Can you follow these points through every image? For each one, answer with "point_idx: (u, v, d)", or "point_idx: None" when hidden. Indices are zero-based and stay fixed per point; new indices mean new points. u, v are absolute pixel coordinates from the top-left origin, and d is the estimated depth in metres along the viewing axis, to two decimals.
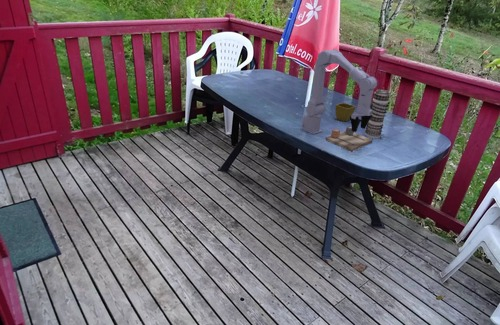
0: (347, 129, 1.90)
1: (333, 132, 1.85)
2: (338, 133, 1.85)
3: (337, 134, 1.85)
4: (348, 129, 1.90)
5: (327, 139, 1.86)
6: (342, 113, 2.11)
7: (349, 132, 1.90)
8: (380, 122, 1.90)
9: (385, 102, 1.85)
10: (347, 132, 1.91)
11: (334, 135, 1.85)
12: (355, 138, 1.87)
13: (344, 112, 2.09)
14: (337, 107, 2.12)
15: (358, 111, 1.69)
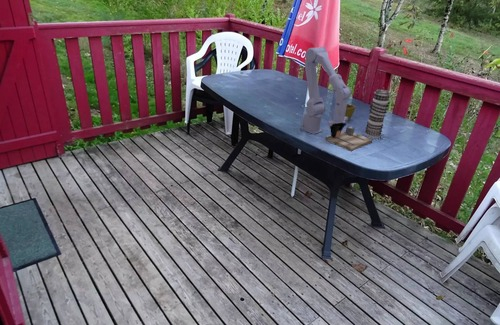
0: (347, 129, 1.90)
1: None
2: (338, 133, 1.85)
3: (337, 134, 1.85)
4: (348, 129, 1.90)
5: (327, 139, 1.86)
6: None
7: (349, 132, 1.90)
8: (380, 122, 1.90)
9: (385, 102, 1.85)
10: (347, 132, 1.91)
11: None
12: (355, 138, 1.87)
13: None
14: None
15: (334, 119, 1.81)
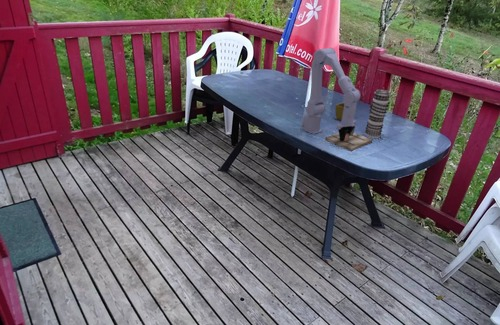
0: None
1: None
2: (347, 136, 1.82)
3: (346, 137, 1.81)
4: None
5: (327, 139, 1.86)
6: (342, 113, 2.11)
7: None
8: (380, 122, 1.90)
9: (385, 102, 1.85)
10: None
11: None
12: (355, 138, 1.87)
13: None
14: (337, 107, 2.12)
15: (343, 122, 1.77)
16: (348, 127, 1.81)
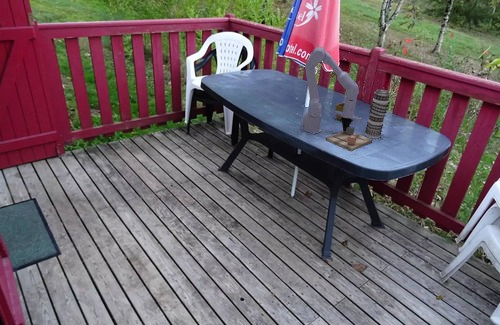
0: (347, 129, 1.90)
1: (349, 138, 1.79)
2: (354, 140, 1.79)
3: (353, 141, 1.78)
4: (348, 129, 1.90)
5: (327, 139, 1.86)
6: None
7: (349, 132, 1.90)
8: (380, 122, 1.90)
9: (385, 102, 1.85)
10: (347, 132, 1.91)
11: (350, 142, 1.79)
12: None
13: None
14: (337, 107, 2.12)
15: None
16: None
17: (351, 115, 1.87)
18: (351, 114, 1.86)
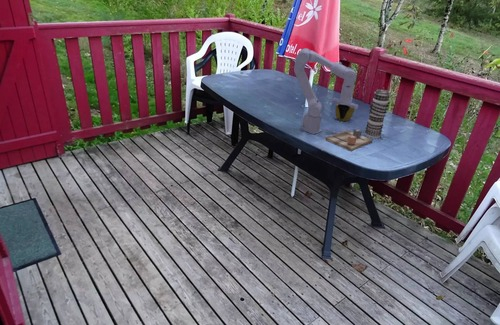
0: (354, 132, 1.87)
1: (349, 138, 1.79)
2: (354, 140, 1.79)
3: (353, 141, 1.78)
4: (355, 132, 1.87)
5: (327, 139, 1.86)
6: None
7: (356, 135, 1.87)
8: (380, 122, 1.90)
9: (385, 102, 1.85)
10: (354, 135, 1.88)
11: (350, 142, 1.79)
12: None
13: None
14: (337, 107, 2.12)
15: None
16: None
17: (348, 102, 1.83)
18: (348, 101, 1.83)
